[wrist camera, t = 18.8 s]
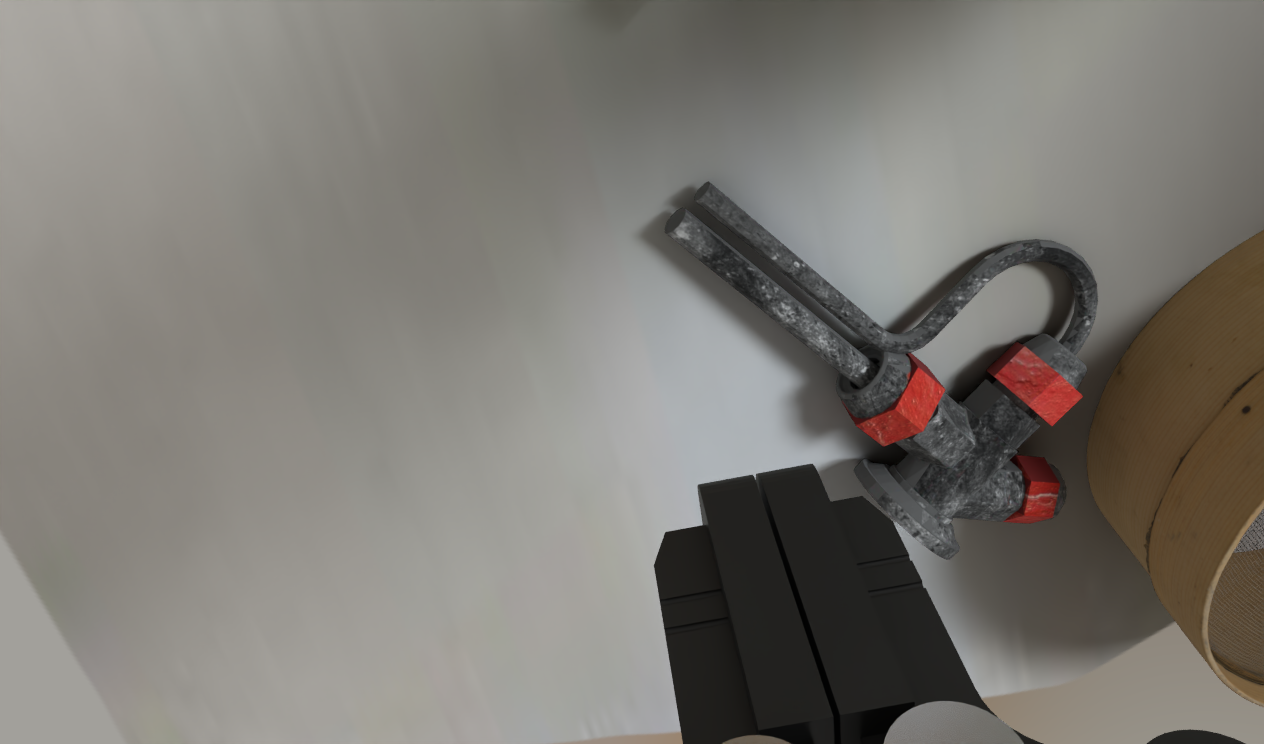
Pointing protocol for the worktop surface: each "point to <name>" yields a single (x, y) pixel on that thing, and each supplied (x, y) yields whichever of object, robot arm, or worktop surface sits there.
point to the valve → (923, 381)
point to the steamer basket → (1195, 461)
